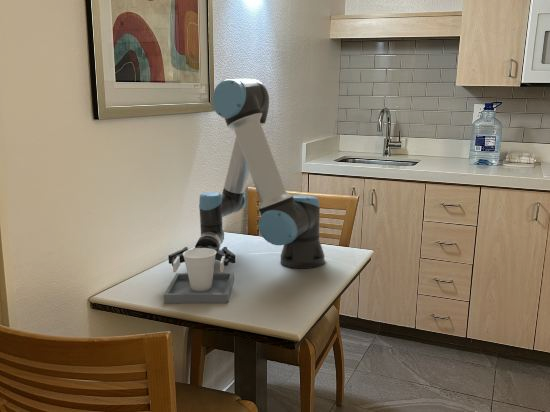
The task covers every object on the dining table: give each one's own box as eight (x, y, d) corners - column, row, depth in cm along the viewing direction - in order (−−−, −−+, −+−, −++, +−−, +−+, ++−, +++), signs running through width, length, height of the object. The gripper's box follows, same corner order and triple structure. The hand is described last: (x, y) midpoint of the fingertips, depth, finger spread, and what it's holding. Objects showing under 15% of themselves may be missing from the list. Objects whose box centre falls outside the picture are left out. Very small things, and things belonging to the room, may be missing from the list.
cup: (212, 295, 157) (210, 258, 155) (179, 293, 159) (177, 257, 156) (222, 283, 167) (220, 248, 164) (191, 281, 168) (189, 247, 166)
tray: (233, 280, 171) (233, 272, 170) (227, 302, 153) (227, 294, 153) (176, 280, 171) (176, 273, 171) (164, 303, 154) (163, 294, 153)
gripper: (246, 256, 179) (241, 279, 158) (170, 257, 179) (155, 280, 159) (245, 234, 177) (240, 254, 156) (169, 235, 178) (153, 255, 157)
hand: (197, 267), depth 157 cm, fingers open, 13 cm apart
